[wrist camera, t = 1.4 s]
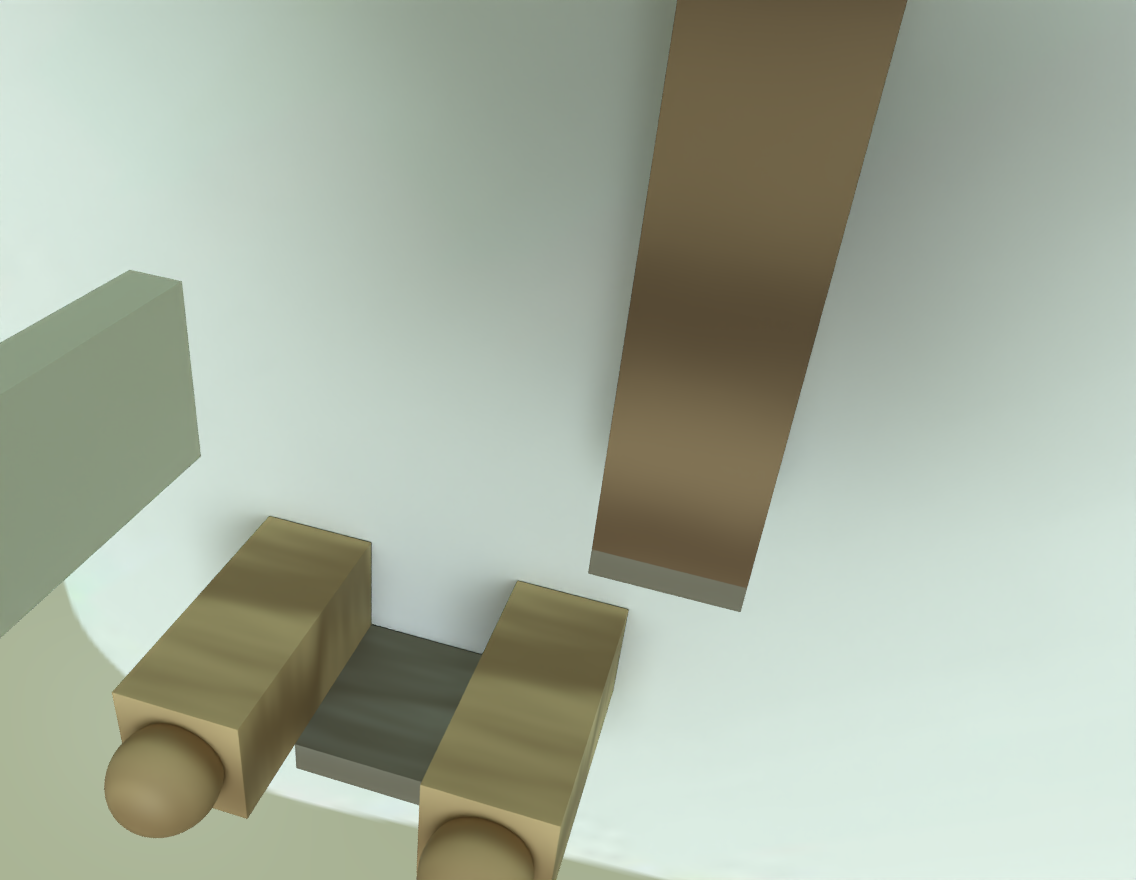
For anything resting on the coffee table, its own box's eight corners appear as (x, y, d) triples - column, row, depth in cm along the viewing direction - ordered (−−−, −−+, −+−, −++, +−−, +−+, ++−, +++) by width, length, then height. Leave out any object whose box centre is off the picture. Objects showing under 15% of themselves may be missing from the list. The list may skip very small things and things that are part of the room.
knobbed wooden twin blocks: (269, 516, 36) (55, 756, 26) (628, 609, 34) (535, 907, 24) (276, 621, 39) (85, 871, 29) (608, 713, 36) (518, 1016, 27)
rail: (725, -80, 22) (686, -59, 18) (903, -54, 22) (914, -25, 17) (633, 454, 30) (588, 573, 25) (761, 484, 30) (740, 612, 25)
